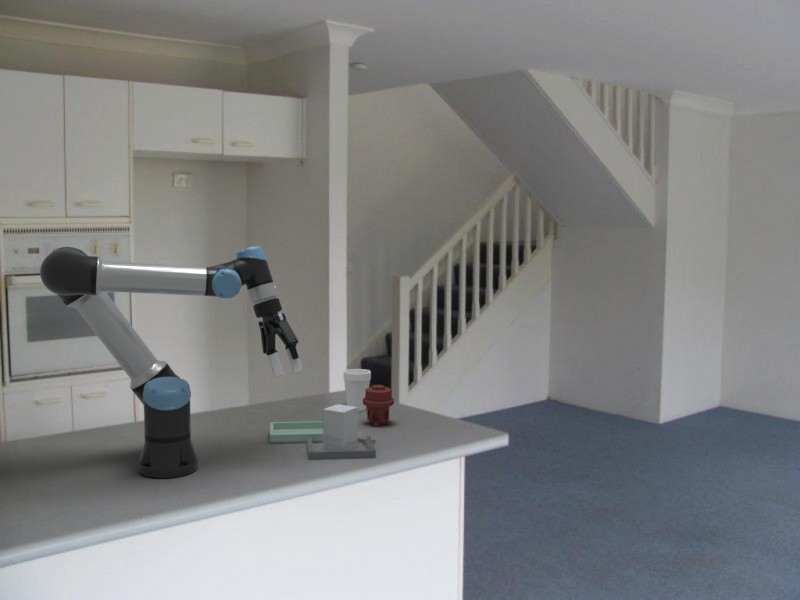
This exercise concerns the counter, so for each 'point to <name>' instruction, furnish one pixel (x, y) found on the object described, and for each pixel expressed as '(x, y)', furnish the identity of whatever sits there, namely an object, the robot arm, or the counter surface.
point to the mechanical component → (378, 404)
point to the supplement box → (340, 428)
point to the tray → (296, 432)
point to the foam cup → (356, 386)
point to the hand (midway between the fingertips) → (288, 373)
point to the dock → (342, 452)
